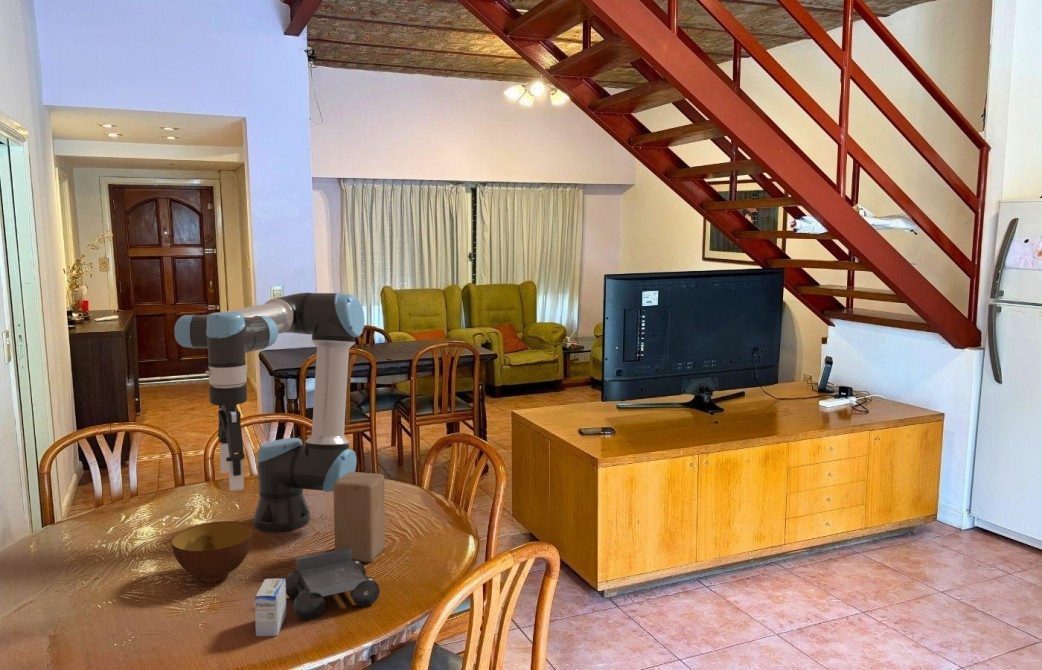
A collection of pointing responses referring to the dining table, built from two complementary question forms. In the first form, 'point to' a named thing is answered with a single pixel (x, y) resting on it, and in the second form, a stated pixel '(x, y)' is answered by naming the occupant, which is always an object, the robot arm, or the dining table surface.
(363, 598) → the trolley
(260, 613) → the medicine box
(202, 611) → the dining table surface
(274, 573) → the dining table surface
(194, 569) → the bowl
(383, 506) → the wooden block
